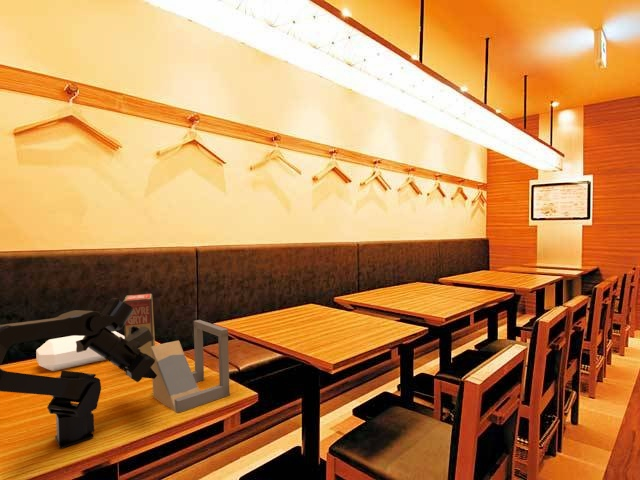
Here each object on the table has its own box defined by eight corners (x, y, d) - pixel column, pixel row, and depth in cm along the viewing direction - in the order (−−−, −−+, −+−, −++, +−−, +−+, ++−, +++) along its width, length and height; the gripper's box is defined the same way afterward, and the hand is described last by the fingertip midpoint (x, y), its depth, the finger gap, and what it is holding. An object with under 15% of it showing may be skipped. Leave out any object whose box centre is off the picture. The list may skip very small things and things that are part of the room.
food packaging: (127, 363, 138) (125, 295, 137) (155, 359, 141) (153, 292, 141) (124, 375, 125) (122, 300, 125) (155, 371, 129) (153, 298, 129)
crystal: (130, 332, 145) (40, 348, 126) (130, 357, 145) (41, 376, 126) (119, 326, 156) (34, 340, 137) (119, 349, 156) (35, 366, 137)
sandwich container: (176, 414, 98) (174, 357, 98) (151, 398, 108) (150, 346, 108) (206, 403, 104) (204, 349, 104) (180, 388, 115) (179, 339, 114)
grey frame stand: (177, 412, 98) (175, 340, 98) (153, 392, 111) (151, 328, 111) (229, 395, 108) (227, 329, 108) (201, 378, 121) (199, 319, 121)
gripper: (145, 324, 92) (189, 358, 100) (121, 314, 106) (162, 344, 114) (110, 365, 87) (160, 397, 95) (90, 348, 100) (135, 377, 108)
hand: (155, 376), depth 103 cm, fingers closed
